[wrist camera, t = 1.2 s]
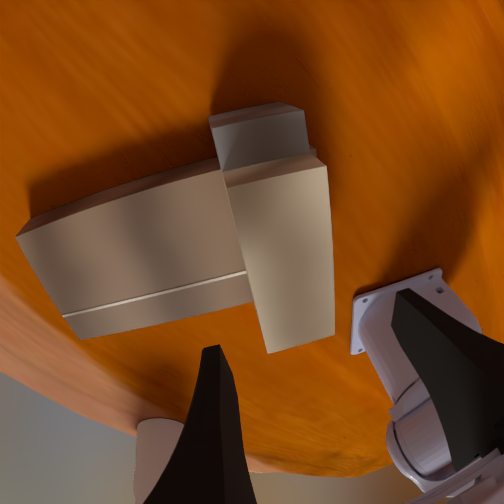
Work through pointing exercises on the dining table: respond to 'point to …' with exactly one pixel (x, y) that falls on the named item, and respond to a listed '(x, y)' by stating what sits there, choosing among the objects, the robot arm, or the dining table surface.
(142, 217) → the plank
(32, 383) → the dining table surface
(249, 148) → the stepped beige block
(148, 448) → the mug
